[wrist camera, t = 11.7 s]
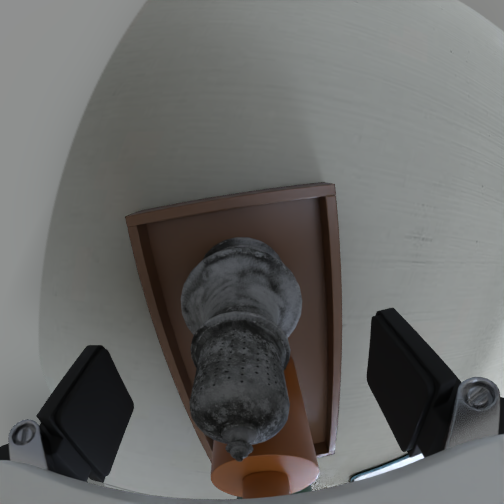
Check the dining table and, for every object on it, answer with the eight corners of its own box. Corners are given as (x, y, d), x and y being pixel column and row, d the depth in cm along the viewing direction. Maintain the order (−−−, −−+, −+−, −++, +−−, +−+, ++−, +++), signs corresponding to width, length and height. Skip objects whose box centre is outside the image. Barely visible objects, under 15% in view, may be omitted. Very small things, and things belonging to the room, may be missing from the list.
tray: (138, 211, 16) (124, 216, 14) (324, 182, 16) (334, 183, 14) (215, 452, 23) (214, 468, 21) (330, 438, 22) (334, 454, 20)
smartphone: (457, 428, 25) (350, 475, 25) (459, 430, 24) (351, 478, 25) (444, 455, 27) (349, 495, 27) (446, 457, 26) (350, 498, 27)
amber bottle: (214, 346, 18) (188, 535, 6) (291, 336, 18) (339, 524, 6) (228, 399, 20) (221, 557, 7) (296, 391, 20) (329, 548, 7)
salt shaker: (214, 215, 16) (141, 328, 4) (308, 255, 17) (407, 404, 5) (179, 302, 17) (111, 468, 6) (265, 335, 18) (287, 509, 7)
